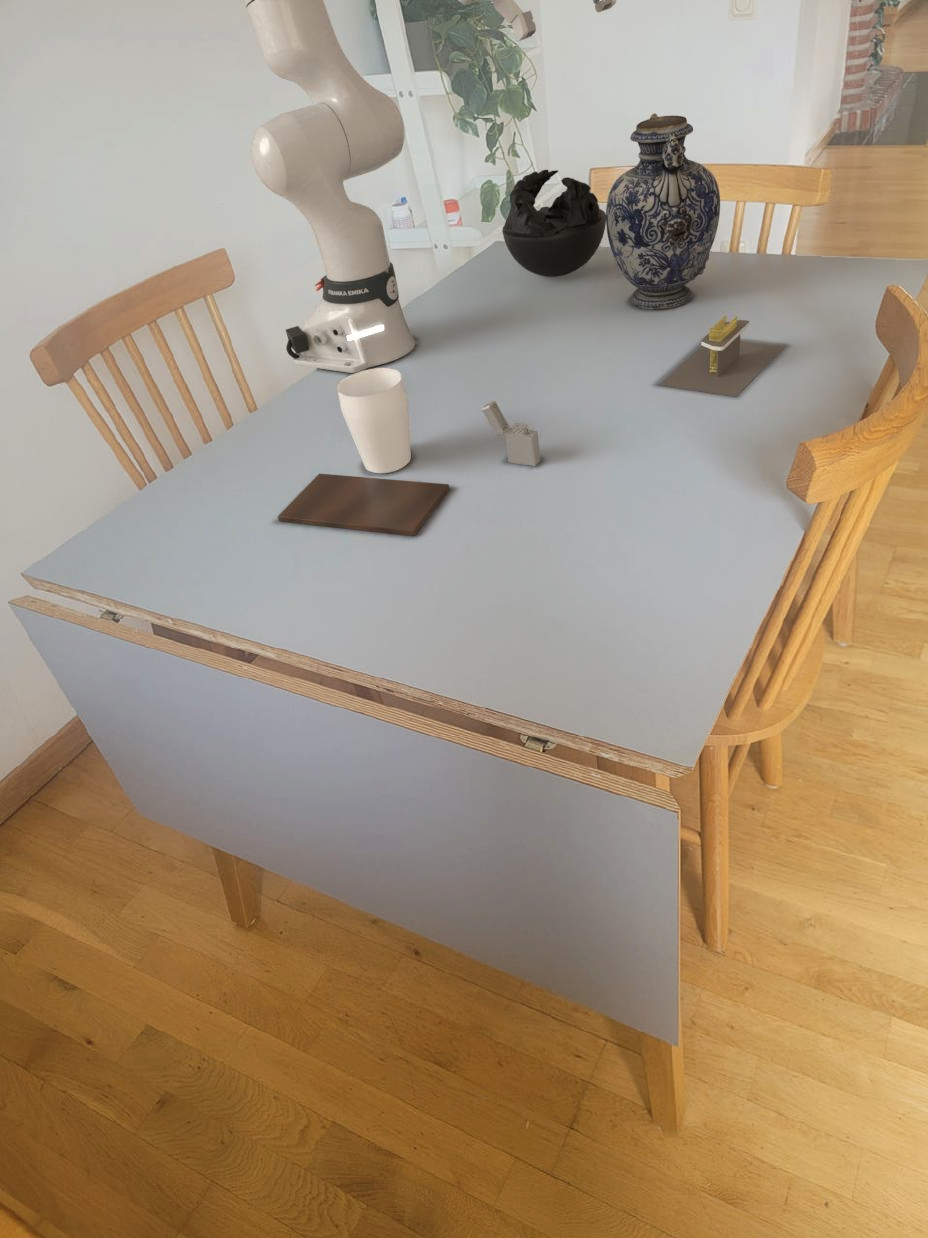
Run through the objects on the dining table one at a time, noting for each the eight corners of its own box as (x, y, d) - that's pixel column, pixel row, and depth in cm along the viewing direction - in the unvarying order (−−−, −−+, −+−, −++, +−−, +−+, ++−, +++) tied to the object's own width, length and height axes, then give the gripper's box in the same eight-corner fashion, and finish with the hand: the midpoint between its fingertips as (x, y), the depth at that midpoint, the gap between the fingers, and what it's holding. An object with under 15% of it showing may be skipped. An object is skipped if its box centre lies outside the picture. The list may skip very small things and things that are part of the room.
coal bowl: (507, 265, 179) (495, 167, 167) (602, 251, 176) (597, 150, 165) (509, 298, 163) (497, 192, 151) (614, 282, 161) (609, 174, 149)
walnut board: (279, 521, 111) (277, 516, 111) (320, 478, 119) (319, 473, 118) (414, 536, 103) (413, 531, 103) (449, 489, 111) (448, 483, 110)
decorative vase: (729, 312, 142) (738, 122, 124) (618, 328, 144) (611, 144, 126) (702, 271, 158) (706, 99, 141) (602, 286, 160) (594, 118, 143)
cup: (428, 446, 121) (412, 367, 113) (405, 479, 115) (387, 397, 107) (371, 445, 124) (352, 367, 116) (346, 477, 118) (324, 397, 110)
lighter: (541, 459, 113) (535, 404, 108) (535, 466, 112) (529, 410, 107) (494, 453, 117) (487, 399, 112) (488, 459, 116) (480, 405, 111)
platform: (658, 385, 125) (657, 341, 121) (710, 337, 135) (711, 296, 131) (736, 396, 119) (738, 351, 114) (785, 345, 129) (788, 302, 125)
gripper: (594, -146, 85) (637, 6, 89) (415, -90, 81) (469, 66, 85) (625, -189, 79) (670, -25, 83) (434, -132, 75) (491, 38, 79)
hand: (567, 21), depth 84 cm, fingers open, 8 cm apart
